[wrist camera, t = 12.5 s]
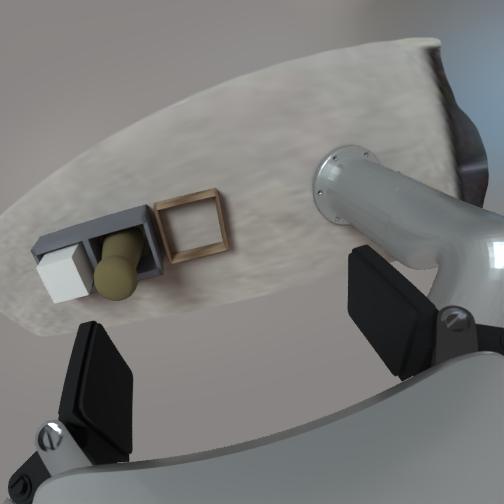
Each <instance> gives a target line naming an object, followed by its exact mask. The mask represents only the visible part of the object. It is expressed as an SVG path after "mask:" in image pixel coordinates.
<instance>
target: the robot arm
mask: <svg viewBox="0 0 504 504" xmlns="http://www.w3.org/2000/svg"><path fill="white" fill-rule="evenodd" d="M333 157H334V158H333ZM318 191H319V192H318ZM313 197H314V202H315V204H316V206H317V208H318V210H319V211H320V213H321V214H322V215H323V216H324V217H325V218H327V219H328V220H329V221H331V222H333V223H335V224H340V225H349V224H352V225H353V226H354V227H355V228H357V229H358V230H359V231H361V232H362V233H363V234H365V235H366V236H367V237H368V238H370V239H371V240H372V241H374V242H375V243H376V244H377V245H379V246H380V247H381V248H382V249H384V250H385V251H386V252H387V253H389V254H390V255H391V256H392V257H394V258H395V259H396V260H397V261H399V262H400V263H401V264H403V265H405V266H407V267H409V268H413V269H431V268H436V267H438V272H437V275H436V278H435V280H434V282H433V285H432V287H431V290H430V292H429V294H428V296H427V297H426V296H425V295H424V294H423V293H422V292H420V291H419V290H418V289H417V288H416V287H415V286H414V285H413V284H412V283H411V282H410V281H408V280H407V279H406V278H405V277H404V276H403V275H402V274H401V273H400V272H399V271H397V270H396V269H395V268H394V267H393V266H392V265H391V264H390V263H388V262H387V261H386V260H385V259H384V258H383V257H382V256H380V255H379V254H378V253H377V252H376V251H375V250H373V249H372V248H371V247H370V246H369V245H363V246H360V247H357V248H354V249H352V253H350V254H349V256H348V313H349V315H350V317H351V318H352V320H353V321H354V322H355V324H356V325H357V326H358V328H359V329H360V331H361V332H362V333H363V334H364V336H365V337H366V338H367V340H368V341H369V343H370V344H371V345H372V347H373V348H374V349H375V351H376V352H377V354H378V355H379V356H380V358H381V359H382V360H383V362H384V363H385V365H386V366H387V367H388V369H389V370H390V371H391V373H392V374H393V375H394V376H397V375H398V376H399V378H400V379H401V381H404V380H406V379H408V378H410V377H412V376H413V377H412V378H410V379H408V380H406V381H404V382H402V383H400V384H398V385H396V386H394V387H392V388H389V389H387V390H385V391H383V392H381V393H379V394H377V395H375V396H372V397H370V398H368V399H366V400H364V401H361V402H359V403H357V404H355V405H352V406H350V407H347V408H345V409H343V410H340V411H338V412H335V413H333V414H330V415H328V416H325V417H322V418H320V419H317V420H314V421H312V422H309V423H306V424H303V425H300V426H297V427H294V428H291V429H288V430H285V431H282V432H278V433H275V434H272V435H269V436H265V437H262V438H258V439H254V440H251V441H247V442H243V443H239V444H235V445H231V446H227V447H222V448H218V449H213V450H208V451H203V452H198V453H193V454H187V455H181V456H175V457H169V458H161V459H153V460H145V461H137V462H129V454H131V453H132V400H133V398H132V397H133V374H132V371H131V370H130V368H129V367H128V365H127V364H126V362H125V361H124V359H123V358H122V356H121V355H120V353H119V352H118V350H117V348H116V347H115V345H114V344H113V342H112V341H111V339H110V337H109V336H108V335H107V332H106V331H105V329H104V328H103V326H102V325H101V324H100V323H98V324H97V322H96V321H90V322H86V323H82V324H80V326H79V329H78V332H77V336H76V339H75V343H74V346H73V350H72V354H71V357H70V361H69V365H68V370H67V374H66V378H65V382H64V387H63V392H62V396H61V401H60V406H59V412H58V414H59V418H58V420H48V421H46V422H45V423H43V424H42V425H41V426H40V427H39V428H38V430H37V432H36V435H35V447H36V449H37V451H36V452H35V453H34V454H33V455H32V456H31V457H30V458H29V459H28V460H27V461H26V462H25V463H24V464H23V465H22V466H21V467H20V468H19V469H18V470H17V471H16V472H15V473H14V474H13V475H12V477H11V478H10V481H9V485H8V491H9V495H10V499H8V498H6V500H5V501H4V504H504V216H503V215H500V214H497V213H494V212H491V211H488V210H485V209H482V208H479V207H476V206H474V205H471V204H469V203H466V202H463V201H461V200H459V199H456V198H454V197H452V196H450V195H447V194H445V193H443V192H441V191H439V190H437V189H435V188H432V187H430V186H428V185H426V184H424V183H422V182H419V181H417V180H415V179H413V178H410V177H408V176H406V175H403V174H401V173H400V172H399V171H394V170H392V169H389V168H387V167H384V166H382V165H381V164H380V162H379V160H378V159H377V158H376V156H375V155H374V154H373V153H372V152H370V151H369V150H367V149H365V148H363V147H360V146H354V145H348V146H343V147H340V148H337V149H336V150H334V151H332V152H331V153H330V154H329V155H327V156H326V157H325V159H324V160H323V161H322V162H321V164H320V166H319V167H318V169H317V171H316V174H315V177H314V182H313ZM117 462H127V463H117Z"/></svg>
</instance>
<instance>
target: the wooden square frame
mask: <svg viewBox="0 0 504 504" xmlns="http://www.w3.org/2000/svg"><path fill="white" fill-rule="evenodd" d="M213 196H214V198H215V203H216V209H217V214H218V219H219V224H220V229H221V234H222V239H223V242H219V243H215V244H211V245H207V246H203V247H199V248H195V249H191V250H187V251H183V252H179V253H175V254H171V251H170V248H169V244H168V241H167V237H166V234H165V230H164V227H163V223H162V220H161V216H160V212H159V210H160V209H164V208H168V207H172V206H176V205H180V204H184V203H188V202H192V201H196V200H200V199H205V198H209V197H213ZM154 212H155V216H156V219H157V223H158V226H159V230H160V233H161V237H162V240H163V243H164V247H165V250H166V253H167V257H168V260H169V263H170V264H174V263H178V262H182V261H186V260H190V259H194V258H198V257H202V256H206V255H210V254H214V253H218V252H222V251H225V250H229V247H228V242H227V237H226V232H225V227H224V222H223V216H222V211H221V206H220V200H219V195H218V191H217V190H216V188H214V189H210V190H205V191H201V192H197V193H193V194H188V195H184V196H180V197H176V198H172V199H168V200H164V201H161V202H157V203H154Z"/></svg>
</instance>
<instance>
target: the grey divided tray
mask: <svg viewBox="0 0 504 504" xmlns="http://www.w3.org/2000/svg"><path fill="white" fill-rule="evenodd" d="M140 224H143V225H144V228H145V232H146V235H147V238H148V241H149V244H150V247H151V251H152V254H153V256H151V257H147V258H143V259H140V260H139V262H138V265H137V267H136V271H137V276H138V281H140V280H144V279H148V278H152V277H155V276H159V275H163V258H162V255H161V251H160V248H159V245H158V242H157V238H156V235H155V232H154V228H153V225H152V222H151V218H150V215H149V211H148V207H147V204H146V205H143V206H139V207H135V208H132V209H128V210H125V211H121V212H118V213H114V214H111V215H107V216H104V217H101V218H97V219H94V220H91V221H88V222H84V223H81V224H78V225H75V226H72V227H69V228H66V229H63V230H60V231H57V232H54V233H51V234H48V235H45V236H42V237H40V238H39V239H38V241H37V242H36V243H35V245H34V246H33V247H32V249H31V252H32V254H33V256H34V258H35V261H36V263H37V265H38V264H39V263H40V261H41V260H42V258H43V257H44V255H45V253H46V252H48V251H51V250H54V249H58V248H61V247H64V246H67V245H70V244H74V243H77V242H80V241H83V244H84V246H85V249H86V251H87V254H88V256H89V259H90V261H91V263H92V266H93V268H94V270H95V268H96V266H97V265H98V263H99V262H100V261H101V260H102V247H101V244H100V242H99V239H98V236H100V235H104V234H107V233H111V232H114V231H118V230H121V229H125V228H129V227H132V226H136V225H140ZM96 291H98V290H97V288H96V286H95V284H94V280H93V283H92V286H91V290H90V293H92V292H96Z"/></svg>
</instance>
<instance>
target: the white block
mask: <svg viewBox="0 0 504 504" xmlns="http://www.w3.org/2000/svg"><path fill="white" fill-rule="evenodd" d="M36 269H37V271H38V273H39V275H40V277H41V279H42V281H43V283H44V285H45V287H46V289H47V291H48V292H49V294H50V296H51V298H52V300H53V302H54V303H59V302H63V301H67V300H71V299H75V298H79V297H83V296H87V295H89V293H90V290H91V286H92V283H93V280H94V272H95V270H94V268H93V266H92V263H91V261H90V259H89V256H88V254H87V251H86V249H85V246H84V244H83V241H80V242H77V243H74V244H70V245H67V246H64V247H61V248H58V249H54V250H51V251H48V252H46V253H45V255H44V257H43V258H42V260H41V261H40V263H39V264H38V266H37V268H36Z"/></svg>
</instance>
